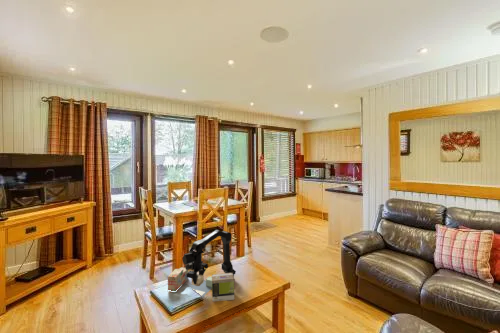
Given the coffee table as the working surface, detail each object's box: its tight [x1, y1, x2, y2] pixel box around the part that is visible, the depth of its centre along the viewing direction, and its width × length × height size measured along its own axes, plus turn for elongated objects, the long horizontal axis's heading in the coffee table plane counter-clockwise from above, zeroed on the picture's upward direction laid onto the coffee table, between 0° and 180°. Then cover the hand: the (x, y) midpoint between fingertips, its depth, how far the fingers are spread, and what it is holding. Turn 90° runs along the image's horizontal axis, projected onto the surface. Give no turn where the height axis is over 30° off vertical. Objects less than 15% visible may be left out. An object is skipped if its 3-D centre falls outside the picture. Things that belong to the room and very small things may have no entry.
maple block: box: [191, 273, 205, 286], centre depth 173 cm, size 6×6×5 cm
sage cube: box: [205, 276, 212, 287], centre depth 186 cm, size 5×5×5 cm
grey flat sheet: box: [188, 279, 212, 298], centre depth 181 cm, size 18×23×1 cm
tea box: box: [211, 272, 235, 302], centre depth 170 cm, size 15×10×15 cm, turn 100°
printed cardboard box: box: [167, 267, 189, 291], centre depth 186 cm, size 21×6×12 cm, turn 170°
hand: (197, 282), depth 173 cm, fingers closed on maple block, 6 cm apart
